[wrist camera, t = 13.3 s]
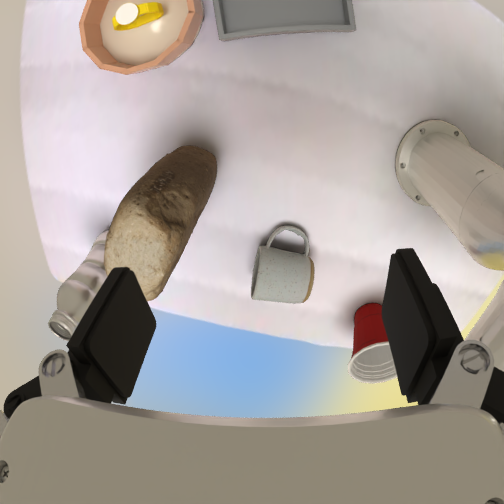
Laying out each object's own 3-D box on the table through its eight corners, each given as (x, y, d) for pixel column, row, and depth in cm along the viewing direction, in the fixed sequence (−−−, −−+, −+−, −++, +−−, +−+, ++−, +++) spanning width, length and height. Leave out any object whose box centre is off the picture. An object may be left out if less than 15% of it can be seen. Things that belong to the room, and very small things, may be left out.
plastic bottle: (105, 218, 45) (37, 303, 29) (141, 235, 47) (83, 329, 30) (99, 247, 49) (40, 331, 32) (132, 263, 50) (81, 355, 34)
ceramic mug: (301, 283, 50) (304, 317, 43) (252, 275, 49) (248, 309, 43) (319, 227, 44) (326, 258, 37) (263, 217, 44) (260, 246, 37)
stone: (181, 129, 37) (106, 191, 20) (231, 150, 38) (192, 229, 22) (155, 202, 43) (90, 294, 27) (199, 221, 44) (155, 324, 28)
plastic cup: (360, 283, 49) (375, 339, 39) (407, 301, 50) (426, 352, 40) (328, 325, 55) (335, 379, 45) (374, 337, 56) (385, 388, 46)
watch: (166, 2, 26) (151, -8, 21) (170, 20, 28) (156, 12, 23) (122, 19, 27) (101, 14, 22) (126, 37, 29) (106, 33, 24)
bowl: (195, -41, 23) (185, -53, 19) (211, 55, 31) (202, 54, 27) (94, -6, 25) (75, -10, 21) (108, 83, 33) (90, 87, 29)
